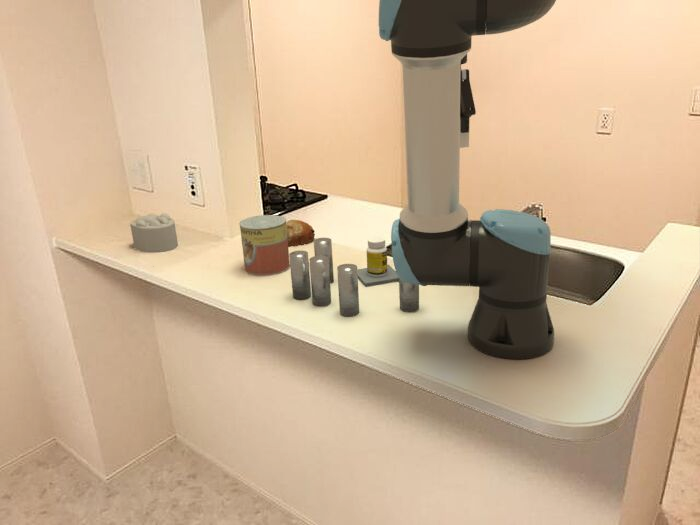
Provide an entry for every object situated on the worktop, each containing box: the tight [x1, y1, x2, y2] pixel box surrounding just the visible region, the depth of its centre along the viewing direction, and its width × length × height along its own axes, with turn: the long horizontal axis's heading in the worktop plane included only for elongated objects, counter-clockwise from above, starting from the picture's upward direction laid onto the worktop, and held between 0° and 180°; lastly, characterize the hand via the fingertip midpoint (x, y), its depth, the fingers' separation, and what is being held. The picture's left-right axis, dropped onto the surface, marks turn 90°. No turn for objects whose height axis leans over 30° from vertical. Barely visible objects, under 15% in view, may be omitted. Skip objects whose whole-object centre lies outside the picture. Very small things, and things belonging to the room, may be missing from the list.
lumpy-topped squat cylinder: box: [129, 213, 179, 254], centre depth 168 cm, size 10×13×9 cm
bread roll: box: [286, 219, 316, 247], centre depth 167 cm, size 10×10×8 cm
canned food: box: [238, 214, 291, 277], centre depth 147 cm, size 11×11×12 cm
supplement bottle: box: [366, 236, 388, 277], centre depth 138 cm, size 5×5×8 cm
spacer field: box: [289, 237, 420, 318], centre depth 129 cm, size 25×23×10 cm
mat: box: [357, 264, 399, 288], centre depth 140 cm, size 9×9×1 cm
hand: (448, 143), depth 139 cm, fingers open, 13 cm apart
